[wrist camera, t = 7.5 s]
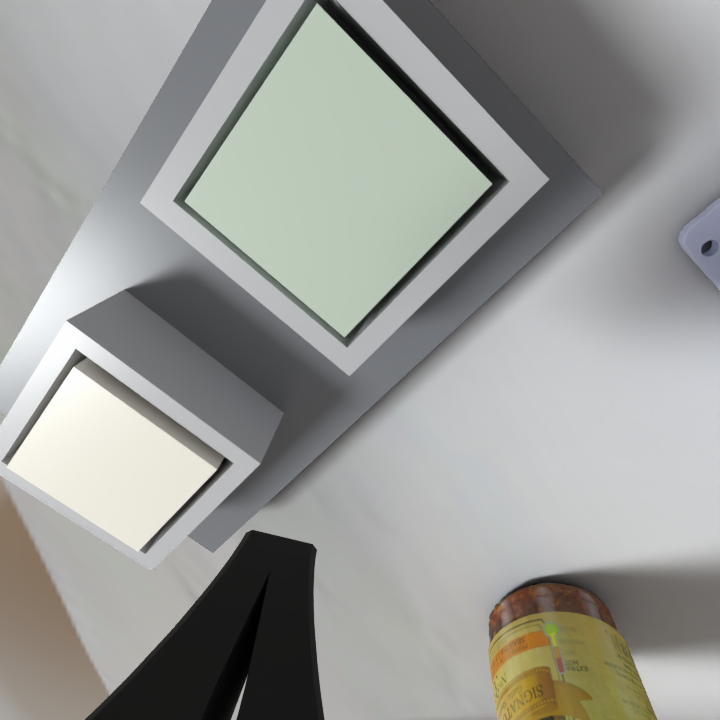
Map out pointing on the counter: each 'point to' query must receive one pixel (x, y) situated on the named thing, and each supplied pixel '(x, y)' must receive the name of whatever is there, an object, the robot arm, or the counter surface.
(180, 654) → the robot arm
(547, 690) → the sauce bottle
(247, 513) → the key console
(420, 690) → the counter surface
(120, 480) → the cream key
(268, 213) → the sage key
